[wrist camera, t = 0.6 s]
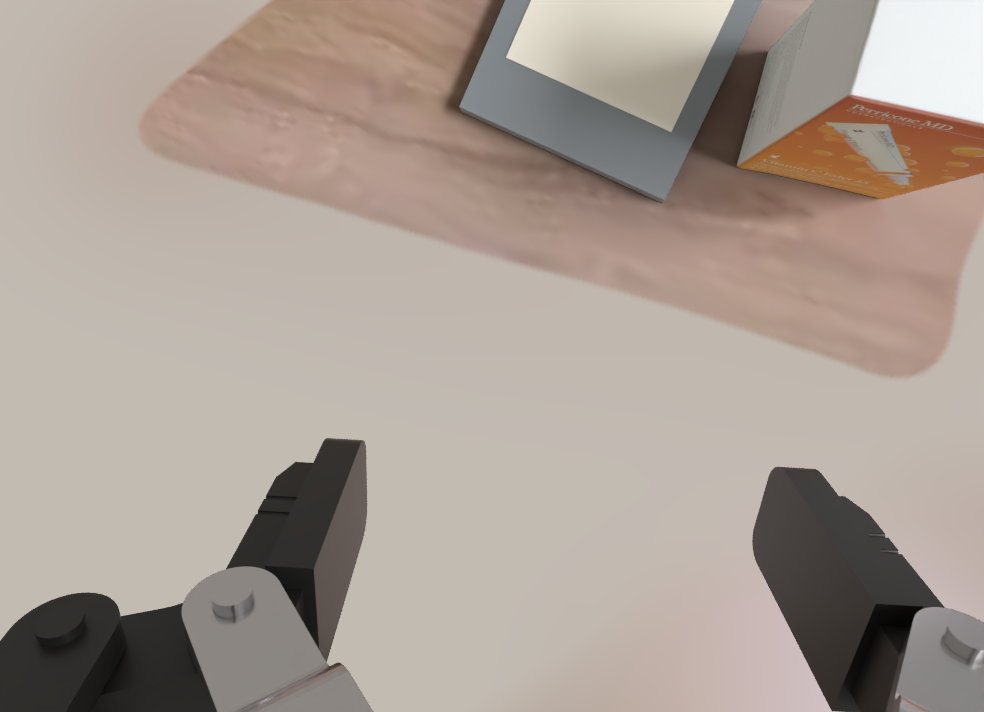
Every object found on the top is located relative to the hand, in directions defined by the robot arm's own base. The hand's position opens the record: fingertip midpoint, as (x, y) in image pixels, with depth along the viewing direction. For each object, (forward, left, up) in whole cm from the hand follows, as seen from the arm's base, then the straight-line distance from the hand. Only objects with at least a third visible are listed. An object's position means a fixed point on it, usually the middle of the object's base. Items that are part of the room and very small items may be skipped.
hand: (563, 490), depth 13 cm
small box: (-17, +8, -24) cm, 31 cm away
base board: (-17, -4, -24) cm, 30 cm away
